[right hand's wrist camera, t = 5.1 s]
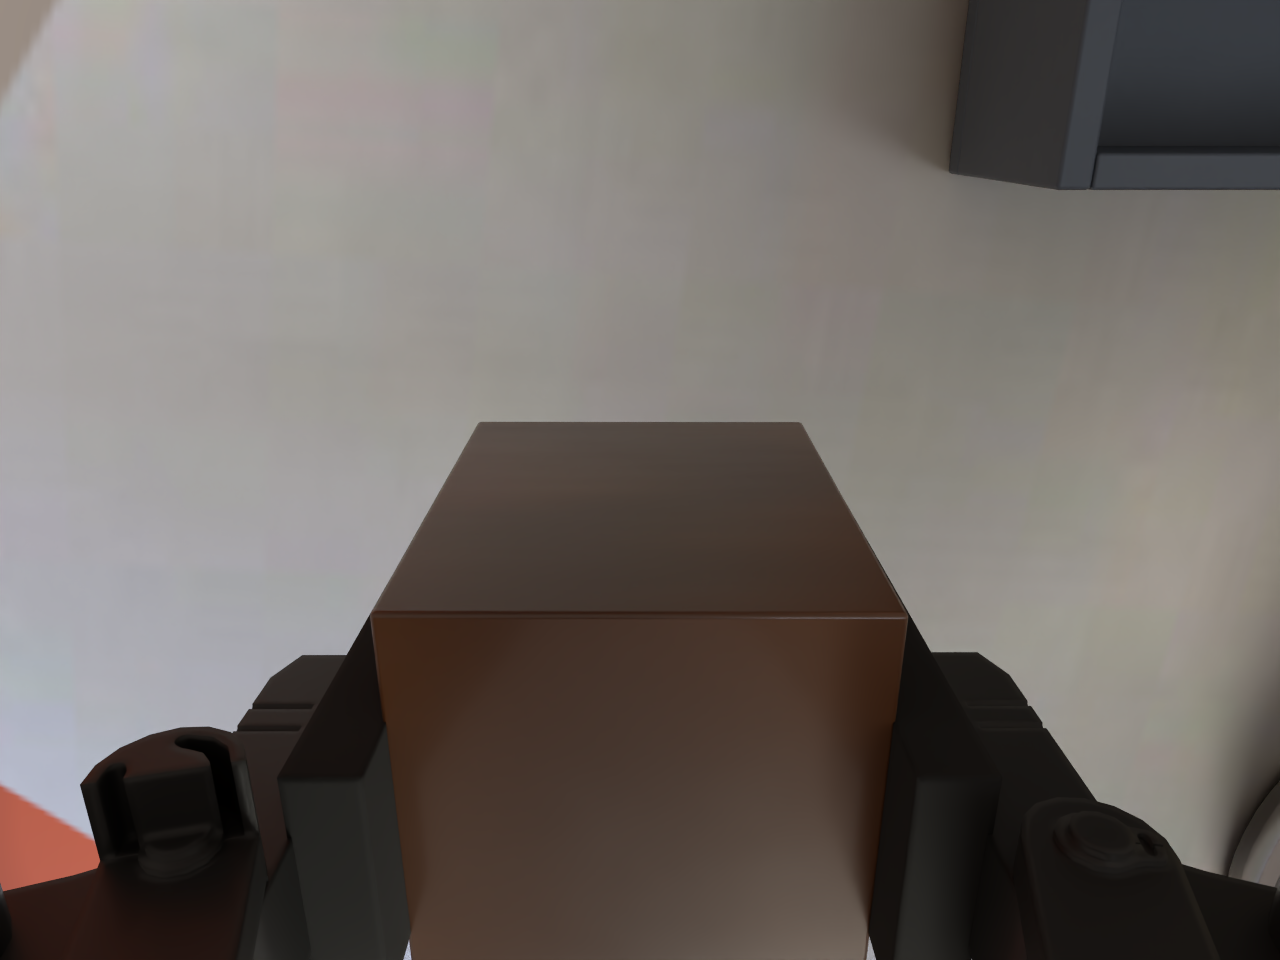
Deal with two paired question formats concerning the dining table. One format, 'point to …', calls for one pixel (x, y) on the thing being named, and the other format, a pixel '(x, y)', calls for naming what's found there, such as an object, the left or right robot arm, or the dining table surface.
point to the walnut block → (639, 698)
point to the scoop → (1121, 94)
